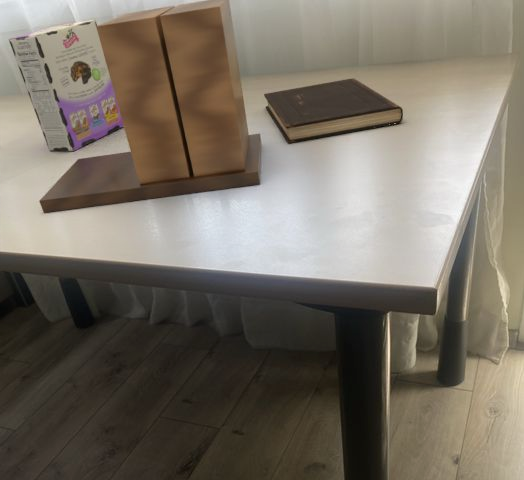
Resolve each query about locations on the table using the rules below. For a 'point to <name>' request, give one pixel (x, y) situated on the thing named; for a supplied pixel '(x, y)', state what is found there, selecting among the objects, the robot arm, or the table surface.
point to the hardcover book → (330, 110)
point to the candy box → (68, 84)
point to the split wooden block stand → (169, 111)
